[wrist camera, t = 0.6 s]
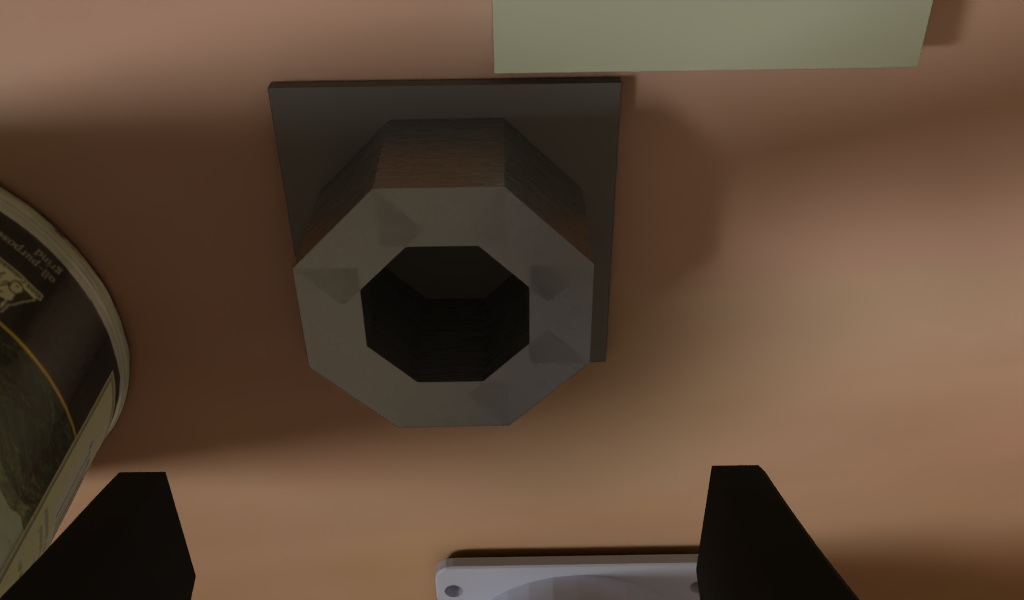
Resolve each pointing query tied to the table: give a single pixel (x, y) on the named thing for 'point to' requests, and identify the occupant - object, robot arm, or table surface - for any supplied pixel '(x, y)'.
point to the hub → (706, 34)
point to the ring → (453, 321)
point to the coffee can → (50, 380)
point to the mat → (522, 102)
